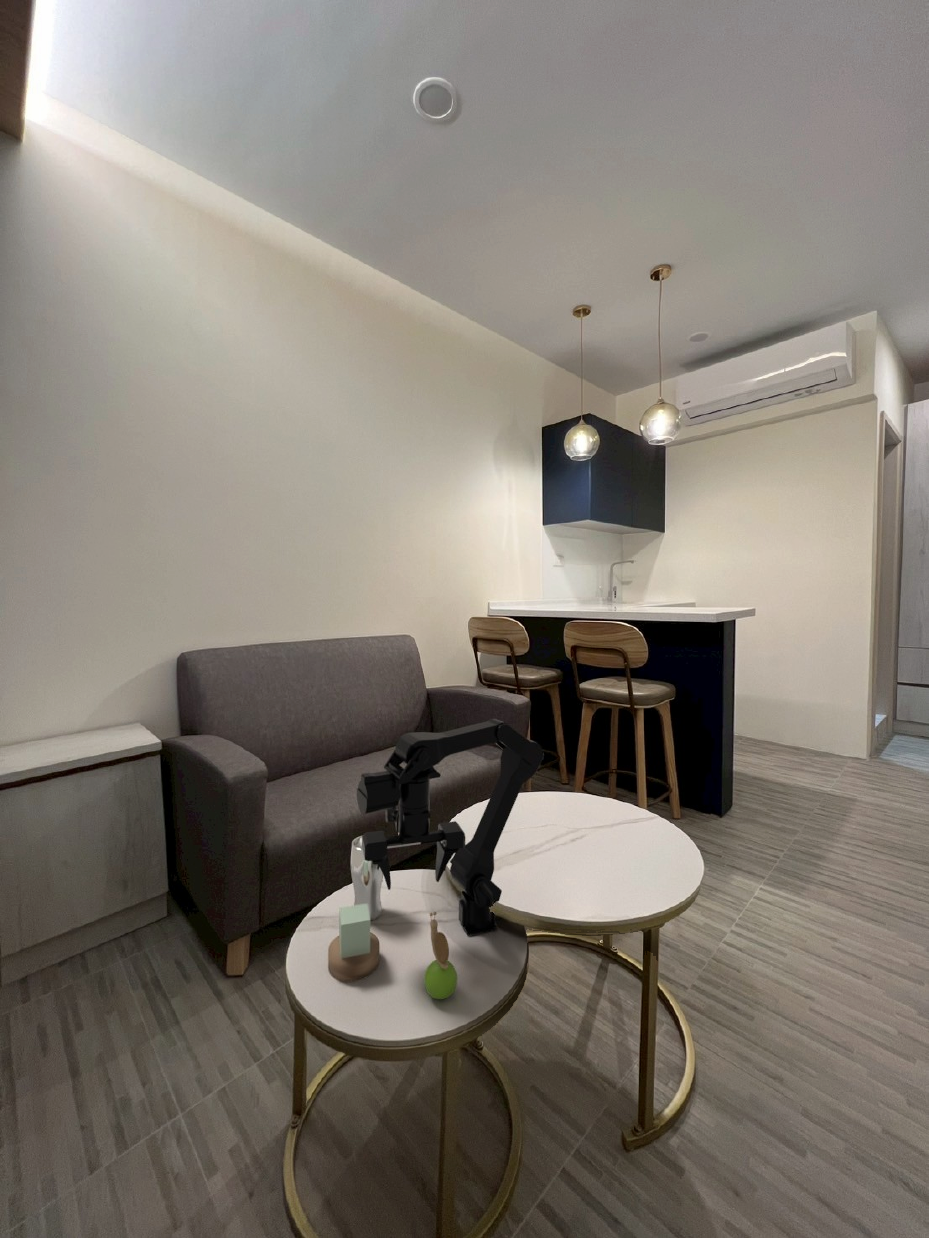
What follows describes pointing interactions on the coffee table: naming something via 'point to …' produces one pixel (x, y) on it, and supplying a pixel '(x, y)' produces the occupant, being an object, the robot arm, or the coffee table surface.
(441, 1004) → the coffee table surface
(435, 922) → the snail figurine
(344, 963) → the walnut base
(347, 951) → the sage block
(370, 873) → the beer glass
